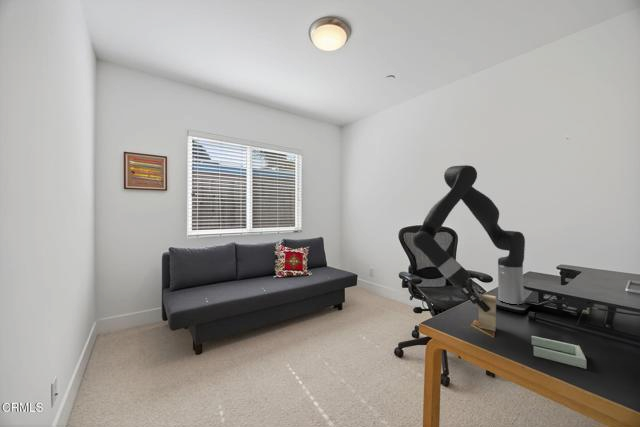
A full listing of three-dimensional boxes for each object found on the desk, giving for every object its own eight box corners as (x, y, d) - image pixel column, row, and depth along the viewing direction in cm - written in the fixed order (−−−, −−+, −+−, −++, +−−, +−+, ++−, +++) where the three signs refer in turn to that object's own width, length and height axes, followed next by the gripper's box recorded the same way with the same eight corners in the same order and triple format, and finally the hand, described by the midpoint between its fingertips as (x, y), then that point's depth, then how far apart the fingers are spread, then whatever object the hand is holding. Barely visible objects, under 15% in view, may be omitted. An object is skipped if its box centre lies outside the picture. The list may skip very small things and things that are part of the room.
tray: (531, 343, 82) (531, 335, 82) (579, 353, 76) (579, 345, 76) (533, 355, 76) (533, 347, 75) (586, 368, 69) (586, 359, 69)
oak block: (480, 322, 96) (479, 293, 96) (495, 325, 93) (495, 296, 93) (478, 327, 92) (478, 297, 92) (495, 331, 89) (495, 300, 89)
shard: (494, 341, 86) (494, 335, 86) (468, 335, 90) (468, 330, 90) (495, 328, 95) (495, 323, 95) (471, 323, 99) (471, 318, 99)
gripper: (458, 269, 91) (497, 307, 85) (463, 262, 103) (498, 295, 96) (442, 281, 94) (478, 319, 88) (449, 273, 106) (481, 306, 99)
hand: (488, 306), depth 92 cm, fingers open, 8 cm apart
